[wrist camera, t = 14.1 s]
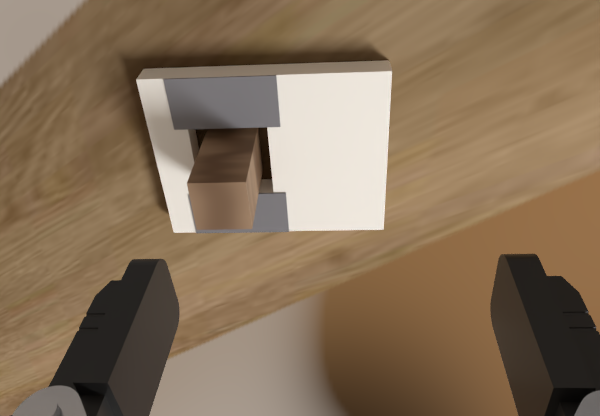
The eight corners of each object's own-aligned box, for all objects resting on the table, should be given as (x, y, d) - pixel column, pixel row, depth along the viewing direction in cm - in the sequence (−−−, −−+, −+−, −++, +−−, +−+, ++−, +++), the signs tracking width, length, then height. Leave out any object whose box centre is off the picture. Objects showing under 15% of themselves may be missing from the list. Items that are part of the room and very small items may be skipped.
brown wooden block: (258, 125, 42) (246, 182, 35) (263, 168, 44) (252, 229, 38) (208, 126, 42) (186, 183, 36) (215, 169, 44) (196, 229, 38)
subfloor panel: (389, 60, 38) (392, 71, 37) (381, 215, 47) (383, 230, 45) (143, 68, 39) (135, 80, 38) (178, 218, 48) (173, 233, 46)
